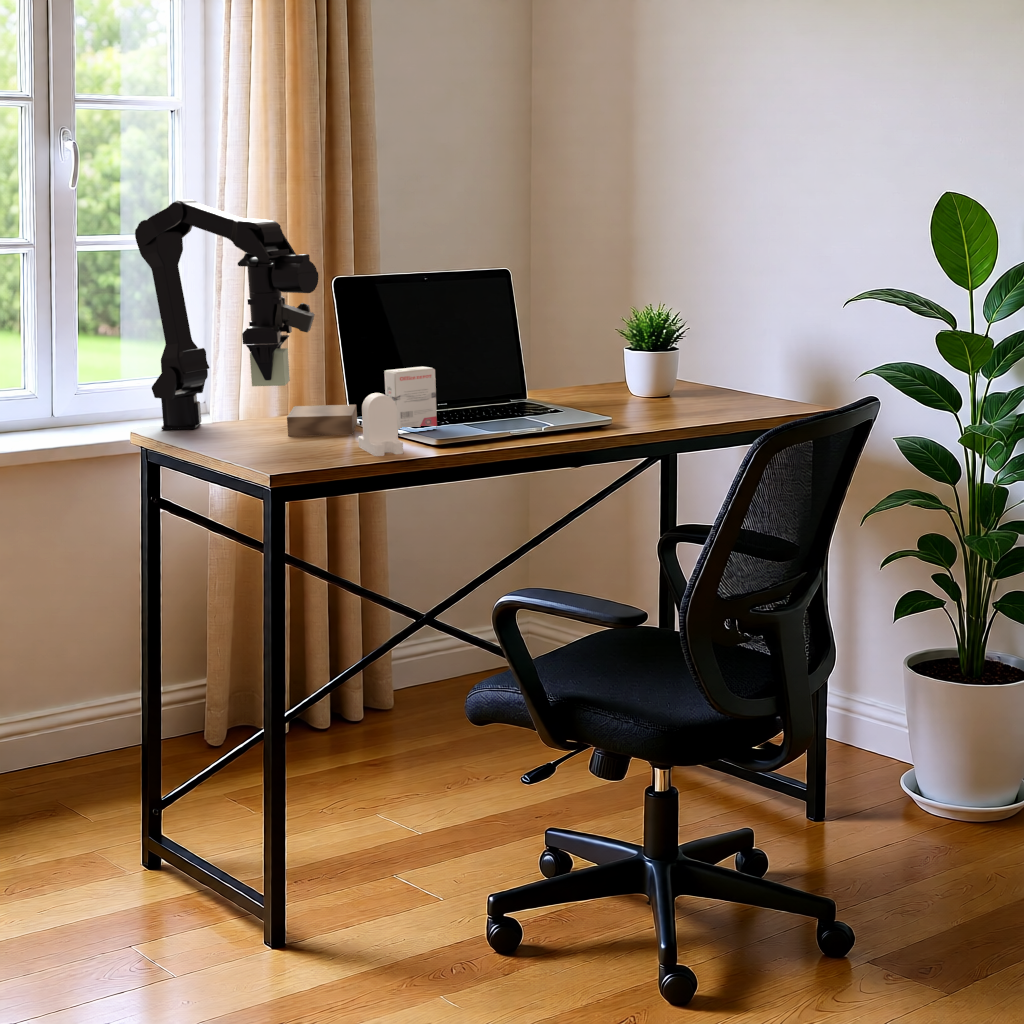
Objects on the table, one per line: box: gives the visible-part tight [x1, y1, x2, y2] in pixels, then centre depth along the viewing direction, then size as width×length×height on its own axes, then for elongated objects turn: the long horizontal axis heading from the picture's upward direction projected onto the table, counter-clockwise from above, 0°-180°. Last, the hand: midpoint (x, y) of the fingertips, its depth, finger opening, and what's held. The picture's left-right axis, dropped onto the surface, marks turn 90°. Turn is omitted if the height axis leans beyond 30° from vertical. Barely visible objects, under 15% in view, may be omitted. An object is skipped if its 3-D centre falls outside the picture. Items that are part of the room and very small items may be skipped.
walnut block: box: [286, 404, 358, 437], centre depth 264 cm, size 12×12×4 cm
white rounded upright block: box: [357, 392, 404, 457], centre depth 243 cm, size 5×10×10 cm, turn 24°
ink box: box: [383, 365, 438, 429], centre depth 260 cm, size 9×5×12 cm, turn 121°
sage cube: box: [249, 347, 291, 387], centre depth 255 cm, size 6×6×6 cm
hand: (270, 377), depth 255 cm, fingers closed on sage cube, 6 cm apart
